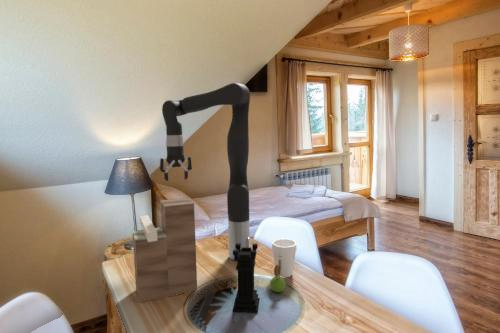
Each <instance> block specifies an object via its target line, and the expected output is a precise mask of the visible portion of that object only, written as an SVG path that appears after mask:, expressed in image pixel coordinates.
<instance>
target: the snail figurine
mask: <svg viewBox="0 0 500 333" xmlns="http://www.w3.org/2000/svg"><path fill="white" fill-rule="evenodd" d="M279 257H282V256H280V255H279ZM281 262H282V260H281V259H279V260H278V263H277V264H276V265H275V264H274V269H273V271H274V272H273V273H274V274H273V275H274V276H273V277H272V278H271V280H270V282H269V286H270V289H271V290H272V292H275V293H281V292H283V291H284V290H285V289H286V281H285V278H282V277H280V274H281Z"/></svg>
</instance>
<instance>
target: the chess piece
mask: <svg viewBox="0 0 500 333" xmlns="http://www.w3.org/2000/svg"><path fill="white" fill-rule="evenodd" d="M251 246H252V247H251ZM251 246H250V247H242V250H241V243H236V244H235V249H236V250H233V255H234V260H233V261H234V262H237V263H236V267H235V270H236V271H237V291H236V295H235V299H234V301H233V302H234V303H233V307H232V313H242V314H243V313H245V314H246V313H248V314H259V306H260V299H261V298H260V297H259V293H258V290H257V289H255V266H256V257H257V250H258V248H259V247H258V246H259V244H258V243H252V245H251Z"/></svg>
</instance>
